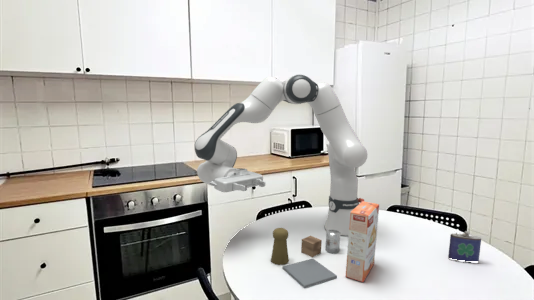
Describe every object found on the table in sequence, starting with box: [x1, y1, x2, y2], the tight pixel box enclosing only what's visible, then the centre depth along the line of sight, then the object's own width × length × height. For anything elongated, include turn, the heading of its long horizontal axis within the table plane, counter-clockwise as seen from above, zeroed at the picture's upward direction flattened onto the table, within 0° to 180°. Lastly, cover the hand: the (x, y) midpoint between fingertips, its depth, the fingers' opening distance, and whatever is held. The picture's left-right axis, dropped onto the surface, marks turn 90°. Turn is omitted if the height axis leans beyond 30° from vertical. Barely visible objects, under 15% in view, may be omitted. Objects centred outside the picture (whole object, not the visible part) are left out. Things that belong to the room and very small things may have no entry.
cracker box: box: [345, 200, 380, 283], centre depth 96 cm, size 14×6×21 cm, turn 148°
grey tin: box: [324, 229, 341, 255], centre depth 110 cm, size 5×5×7 cm
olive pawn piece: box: [270, 227, 289, 266], centre depth 102 cm, size 6×6×11 cm
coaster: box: [282, 258, 338, 289], centre depth 95 cm, size 12×12×1 cm
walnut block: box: [301, 235, 323, 258], centre depth 108 cm, size 5×5×5 cm
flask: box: [447, 230, 482, 262], centre depth 104 cm, size 9×3×11 cm, turn 74°
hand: (255, 186), depth 107 cm, fingers open, 8 cm apart
